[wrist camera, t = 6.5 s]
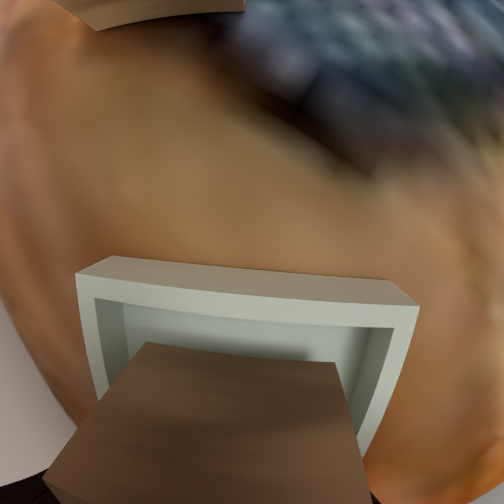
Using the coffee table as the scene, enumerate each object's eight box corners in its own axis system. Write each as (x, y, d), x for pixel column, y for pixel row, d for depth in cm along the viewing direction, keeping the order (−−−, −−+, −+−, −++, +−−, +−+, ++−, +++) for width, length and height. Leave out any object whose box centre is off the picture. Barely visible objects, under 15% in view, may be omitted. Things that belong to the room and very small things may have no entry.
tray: (391, 280, 10) (420, 306, 8) (333, 464, 12) (338, 500, 10) (112, 255, 11) (74, 272, 8) (139, 441, 13) (123, 473, 10)
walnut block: (334, 362, 9) (379, 535, 3) (302, 471, 10) (305, 590, 4) (146, 341, 9) (41, 478, 3) (162, 453, 10) (118, 561, 4)
